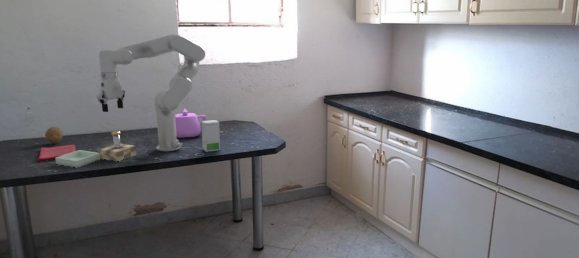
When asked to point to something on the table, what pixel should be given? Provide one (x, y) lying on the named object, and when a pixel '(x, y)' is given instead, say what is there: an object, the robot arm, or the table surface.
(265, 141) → the table surface
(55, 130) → the natural sponge
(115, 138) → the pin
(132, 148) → the hitch block
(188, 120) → the teapot
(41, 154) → the dish towel
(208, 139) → the skincare box
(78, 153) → the tray
